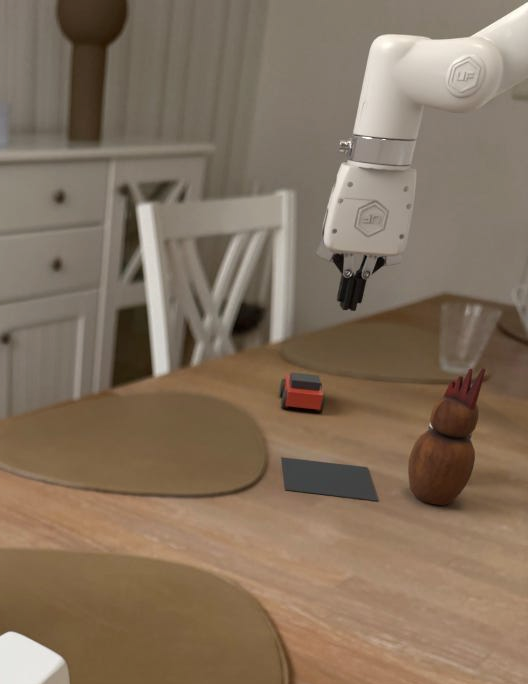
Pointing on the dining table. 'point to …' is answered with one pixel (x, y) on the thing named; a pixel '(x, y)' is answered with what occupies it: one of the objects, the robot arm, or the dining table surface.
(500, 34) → the robot arm
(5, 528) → the dining table surface
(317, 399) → the toy car
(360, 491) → the mat
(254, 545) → the dining table surface
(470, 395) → the wooden figurine
